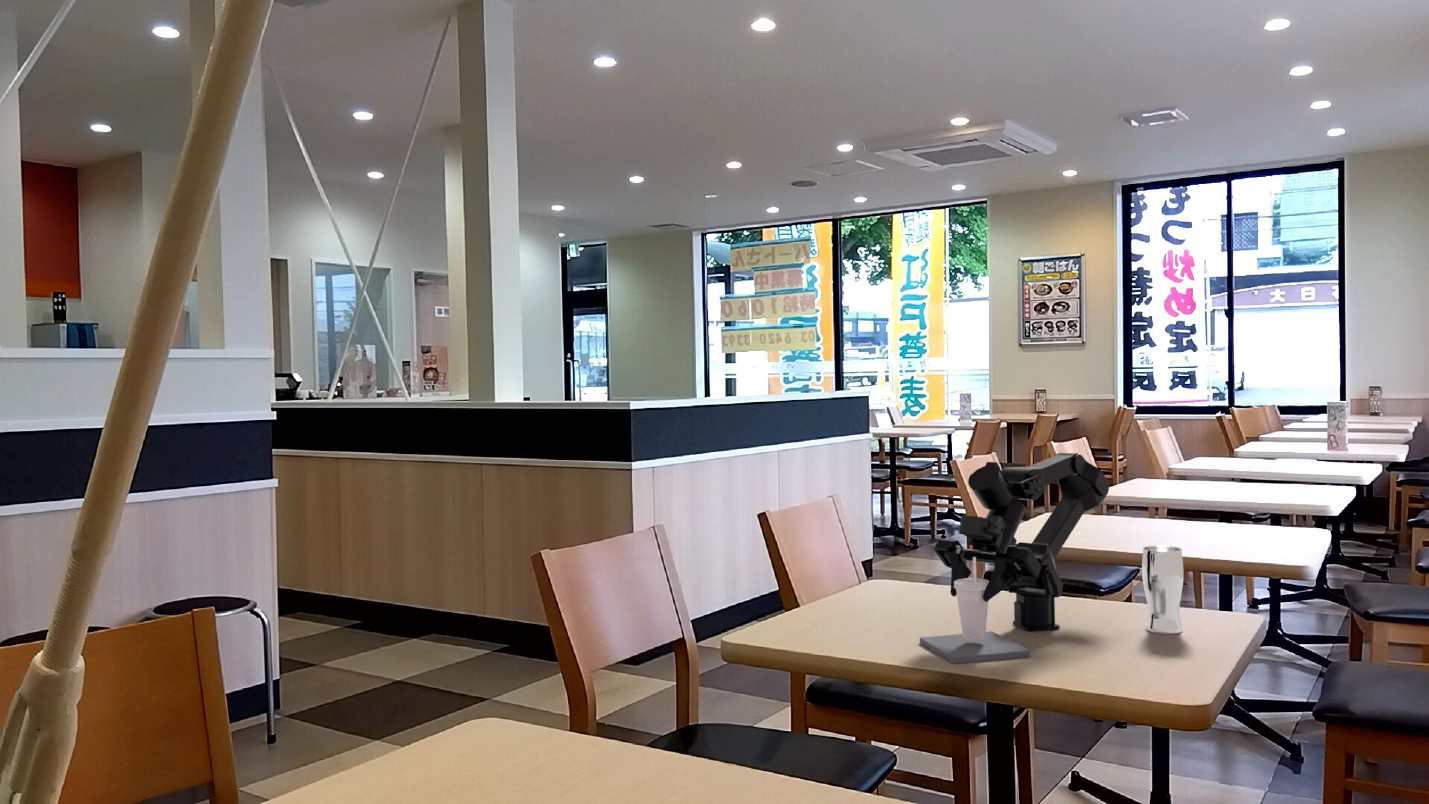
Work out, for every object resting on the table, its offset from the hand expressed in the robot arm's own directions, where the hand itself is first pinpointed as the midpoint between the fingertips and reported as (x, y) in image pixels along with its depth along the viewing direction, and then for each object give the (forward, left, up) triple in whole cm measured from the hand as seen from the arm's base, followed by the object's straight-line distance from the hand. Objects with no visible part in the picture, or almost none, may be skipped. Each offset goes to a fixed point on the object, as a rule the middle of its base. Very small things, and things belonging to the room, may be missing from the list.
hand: (968, 597), depth 182 cm
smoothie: (-1, -1, -7) cm, 7 cm away
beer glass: (-39, -2, -10) cm, 40 cm away
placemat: (-1, -1, -9) cm, 9 cm away
